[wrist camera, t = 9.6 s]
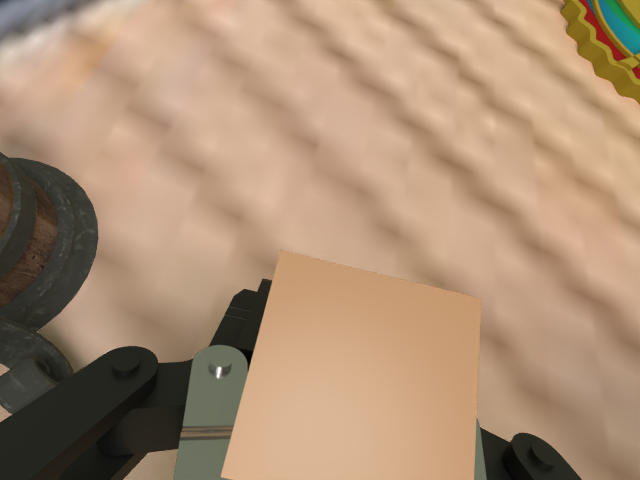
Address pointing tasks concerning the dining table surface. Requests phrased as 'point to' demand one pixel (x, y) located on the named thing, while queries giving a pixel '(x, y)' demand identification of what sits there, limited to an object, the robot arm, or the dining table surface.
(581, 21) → the decorative plaque
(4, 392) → the tankard
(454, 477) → the two-tone square post
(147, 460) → the dining table surface
